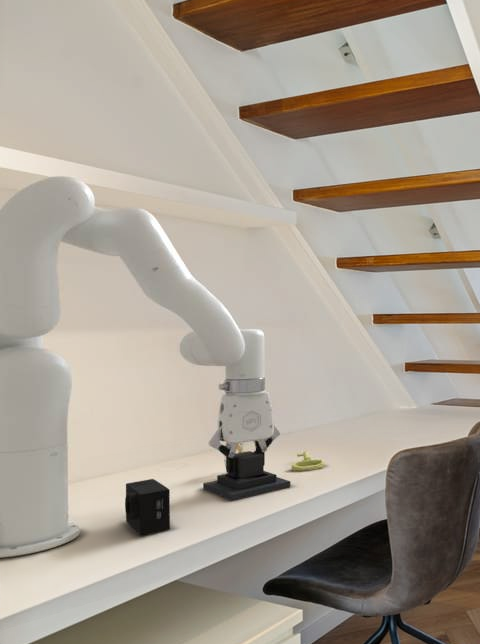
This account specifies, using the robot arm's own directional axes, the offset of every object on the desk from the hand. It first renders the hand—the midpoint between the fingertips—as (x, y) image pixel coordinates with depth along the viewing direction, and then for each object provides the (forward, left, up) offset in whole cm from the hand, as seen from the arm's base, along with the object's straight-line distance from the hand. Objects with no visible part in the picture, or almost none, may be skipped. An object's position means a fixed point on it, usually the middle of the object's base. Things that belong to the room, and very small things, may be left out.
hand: (245, 472), depth 125 cm
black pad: (0, 0, 0) cm, 0 cm away
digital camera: (-22, -10, -4) cm, 24 cm away
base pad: (0, 0, -3) cm, 3 cm away
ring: (+4, +15, -4) cm, 16 cm away
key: (+18, +8, -4) cm, 20 cm away
